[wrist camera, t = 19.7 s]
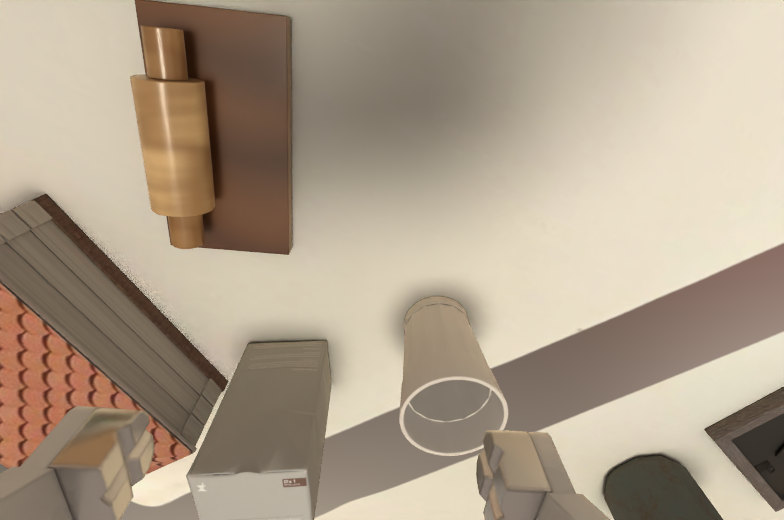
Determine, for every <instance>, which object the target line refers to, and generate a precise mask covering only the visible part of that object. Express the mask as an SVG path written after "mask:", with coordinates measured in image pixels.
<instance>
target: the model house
mask: <svg viewBox="0 0 784 520" xmlns="http://www.w3.org/2000/svg"><path fill="white" fill-rule="evenodd" d="M227 383H228V381H227V380H226V379H225V378H224V377H223V376H222V375H221V374H220V373H219V372H218V371H217V370H216V369H215V368H214V367H213V366H212V365H211V364H210V363H209V362H208V361H207V360H206V358H205V357H204V356H203V355H202V354H201V353H200V352H199V351H198V350H197V349H196V348H195V347H194V346H193V345H192V344H191V343H190V342H189V341H188V340H187V339H186V338H185V337H184V336H183V335H182V334H181V333H180V332H179V331H178V330H177V329H176V328H175V326H174V325H173V324H172V323H171V322H170V321H169V320H168V319H167V318H166V317H165V316H164V315H163V314H162V313H161V312H160V311H159V310H158V309H157V308H156V307H155V306H154V305H153V304H152V303H151V302H150V301H149V300H148V299H147V298H146V297H145V296H144V295H143V293H142V292H141V291H140V290H139V289H138V288H137V287H136V286H135V285H134V284H133V283H132V282H131V281H130V280H129V279H128V278H127V277H126V276H125V275H124V274H123V273H122V272H121V271H120V270H119V269H118V268H117V267H116V266H115V265H114V264H113V263H112V261H111V260H110V259H109V258H108V257H107V256H106V255H105V254H104V253H103V252H102V251H101V250H100V249H99V248H98V247H97V246H96V245H95V244H94V243H93V242H92V241H91V240H90V239H89V238H88V237H87V236H86V235H85V234H84V233H83V232H82V231H81V229H80V228H79V227H78V226H77V225H76V224H75V223H74V222H73V221H72V220H71V219H70V218H69V217H68V216H67V215H66V214H65V213H64V212H63V211H62V210H61V209H60V208H59V207H58V206H57V205H56V204H55V203H54V202H53V201H52V200H51V199H50V198H49V196H48V195H47V194H45V195H43V196H40V197H38V198H36V199H34V200H32V201H30V202H28V203H25V204H23V205H21V206H18V207H16V208H14V209H12V210H9V211H7V212H4V213H2V214H0V463H1V464H2V465H3V466H5V467H6V468H8V469H9V468H11V467H20V466H21V465H22V464H23V463H24V462H25V460H26V459H27V458H28V457H29V456H30V455H31V454H32V453H33V451H34V450H35V449H36V448H37V447H38V446H39V445H40V443H41V442H42V441H43V440H44V439H45V438H46V437H47V435H48V434H49V433H50V432H51V431H52V430H53V429H54V428H55V426H56V425H57V424H58V423H59V422H60V421H61V420H62V418H63V417H64V416H65V415H66V414H67V413H68V412H69V411H70V410H71V409H73V408H75V407H77V406H88V407H104V408H116V409H128V410H140V411H146V412H147V413H148V416H149V420H150V423H149V425H148V426H147V428H146V430H147V431H148V432H149V433H151V434H152V435H153V438H154V454H153V458H152V461H151V464H150V467H149V469H148V471H147V473H146V474H148V473H150V472H152V471H155V470H157V469H159V468H161V467H164V466H166V465H168V464H170V463H172V462H175V461H177V460H179V459H181V458H184V457H186V456H188V455H190V454H192V453H194V452H195V451H196V449H197V448H196V447H195V446H196V443H197V441H198V439H199V437H200V435H201V433H202V431H203V428H204V425H205V424H206V422H207V420H208V418H209V416H210V414H211V412H212V410H213V407H214V405H215V403H216V401H217V399H218V397H219V395H220V393H221V392H222V391H224V389H225V387H226V385H227ZM146 474H145V475H146Z"/></svg>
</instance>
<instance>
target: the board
mask: <svg viewBox="0 0 784 520" xmlns="http://www.w3.org/2000/svg"><path fill="white" fill-rule="evenodd" d="M135 5H136V12H137V18H138V25H139V32H140V39H141V46H142V52H143V59H144V66H145V73H146V75H147V68H146V61H145V54H144V47H143V40H142V33H141V25H144V26H154V27H163V28H172V29H181V30H183V33H184V43H185V52H186V62H187V71H188V78H195V79H200V80H203V81H204V82H205V92H206V103H207V115H208V126H209V137H210V148H211V160H212V171H213V182H214V193H215V208H214V209H213V210H212V211H210V212H208V213H205V214H202V215H203V224H204V234H205V243H204V244H203V245H202V246H199V247H200V248H212V249H224V250H237V251H249V252H261V253H274V254H286V255H289V253H290V251H291V249H292V120H291V18H290V17H287V16H282V15H273V14H264V13H255V12H246V11H238V10H229V9H220V8H211V7H202V6H194V5H185V4H176V3H167V2H158V1H149V0H135ZM167 223H168V229H169V236H170V243H171V245H172V242H171V235H170V228H169V221H168V216H167Z"/></svg>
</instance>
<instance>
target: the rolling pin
mask: <svg viewBox="0 0 784 520" xmlns="http://www.w3.org/2000/svg"><path fill="white" fill-rule="evenodd" d="M141 33H142V40H143V47H144V54H145V61H146V68H147V75H133V76H131V77H130V79H131V86H132V92H133V98H134V104H135V111H136V117H137V123H138V129H139V135H140V142H141V148H142V154H143V160H144V167H145V173H146V179H147V185H148V192H149V198H150V204H151V209H152V211H153V212H155V213H157V214H159V215H163V216H168V221H169V228H170V235H171V242H172V245H173V246H174V247H176V248H180V249H191V248H196V247H199V246H202V245H203V244H204V243H205V234H204V224H203V215H202V214H205V213H208V212H210V211H212V210H213V209H214V208H215V193H214V182H213V171H212V160H211V148H210V137H209V126H208V115H207V103H206V92H205V82H204V81H203V80H200V79H195V78H188V71H187V62H186V52H185V43H184V33H183V30H181V29H172V28H163V27H154V26H144V25H141Z"/></svg>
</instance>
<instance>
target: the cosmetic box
mask: <svg viewBox="0 0 784 520" xmlns="http://www.w3.org/2000/svg"><path fill="white" fill-rule="evenodd" d="M330 392H331V377H330V367H329V357H328V346H327V341H326V340H323V341H300V342H276V343H252V344H248V345H247V347H246V349H245V351H244V354H243V356H242V358H241V360H240V362H239V364H238V367H237V369H236V371H235V373H234V375H233V378H232V380H231V382H230V384H229V387H228V389H227V391H226V393H225V395H224V397H223V400H222V402H221V404H220V406H219V408H218V410H217V413H216V415H215V417H214V419H213V422H212V424H211V426H210V428H209V430H208V432H207V435H206V437H205V439H204V441H203V443H202V445H201V448H200V450H199V452H198V454H197V456H196V458H195V460H194V462H193V464H192V466H191V468H190V470H189V472H188V474H187V475H186V477H187V480H188V483H189V486H190V490H191V493H192V496H193V499H194V502H195V505H196V509H197V512H198V515H199V519H200V520H314V516H315V509H316V502H317V494H318V486H319V479H320V471H321V464H322V456H323V447H324V440H325V432H326V424H327V416H328V408H329V400H330Z"/></svg>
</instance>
